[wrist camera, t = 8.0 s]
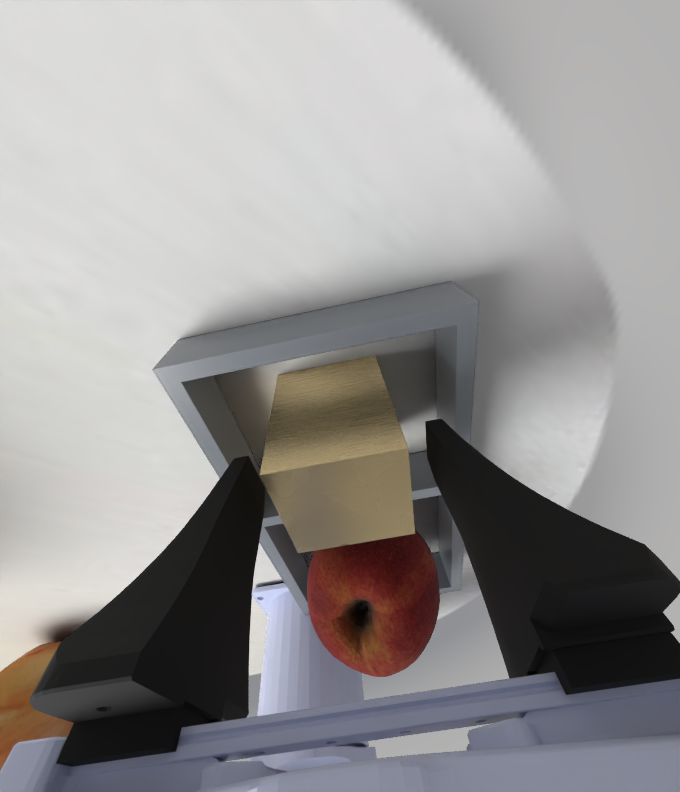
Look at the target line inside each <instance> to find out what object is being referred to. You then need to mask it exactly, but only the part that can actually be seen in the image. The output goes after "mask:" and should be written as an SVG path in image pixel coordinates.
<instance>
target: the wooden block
mask: <svg viewBox="0 0 680 792" xmlns="http://www.w3.org/2000/svg"><path fill="white" fill-rule="evenodd" d="M260 477H261V479H262V481H263V483H264V485H265V487H266V489H267V491H268V493H269V495H270V497H271V499H272V501H273V503H274V505H275V507H276V510H277V512H278V514H279V516H280V518H281V520H282V522H283V524H284V526H285V528H286V530H287V532H288V534H289V536H290V538H291V540H292V542H293V544H294V546H295V548H296V550H297V552H298V553H304V552H310V551H316V550H321V549H327V548H333V547H339V546H345V545H351V544H357V543H363V542H368V541H374V540H380V539H386V538H392V537H398V536H404V535H410V534H415V525H414V513H413V501H412V489H411V477H410V465H409V453H408V446H407V444H406V441H405V438H404V435H403V432H402V430H401V427H400V424H399V421H398V418H397V416H396V413H395V410H394V407H393V404H392V402H391V399H390V396H389V393H388V390H387V387H386V385H385V382H384V379H383V376H382V373H381V371H380V368H379V365H378V362H377V359H376V357H375V356H371V357H366V358H361V359H356V360H351V361H346V362H341V363H335V364H330V365H325V366H320V367H315V368H310V369H305V370H300V371H295V372H290V373H285V374H280V375H278V379H277V384H276V390H275V395H274V400H273V406H272V411H271V417H270V422H269V427H268V433H267V438H266V443H265V449H264V454H263V460H262V465H261V470H260Z"/></svg>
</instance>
